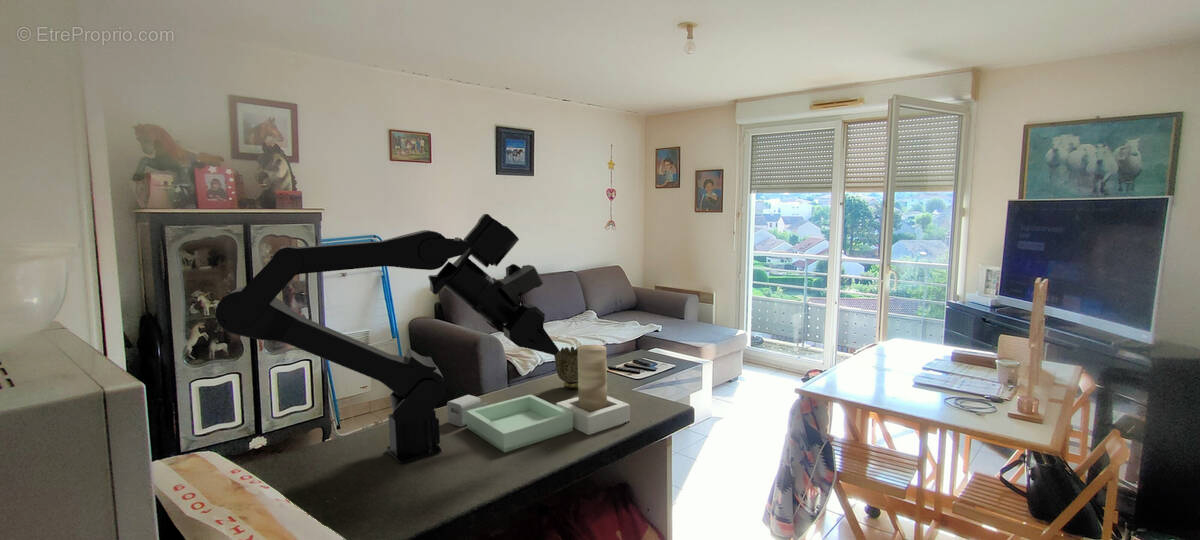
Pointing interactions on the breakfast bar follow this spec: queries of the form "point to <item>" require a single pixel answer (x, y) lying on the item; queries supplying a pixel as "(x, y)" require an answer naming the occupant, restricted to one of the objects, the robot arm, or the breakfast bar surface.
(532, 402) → the pale green tray
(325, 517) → the breakfast bar surface
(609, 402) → the white square frame
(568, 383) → the cup
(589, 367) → the beech dowel
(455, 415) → the usb wall charger
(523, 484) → the breakfast bar surface
